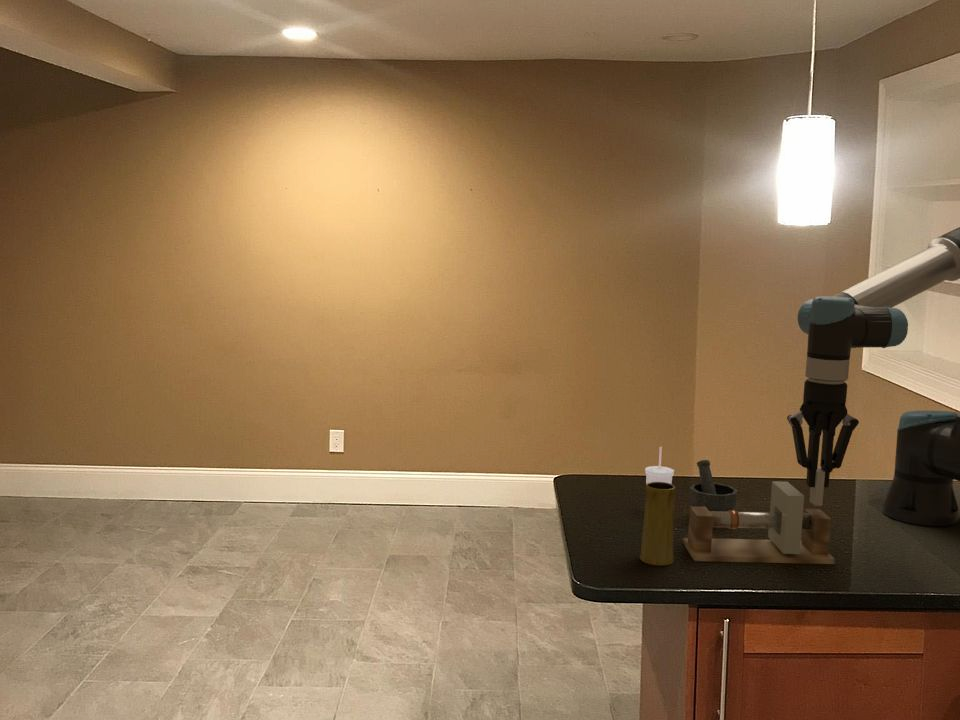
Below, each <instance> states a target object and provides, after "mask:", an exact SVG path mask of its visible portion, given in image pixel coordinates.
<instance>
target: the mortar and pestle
mask: <svg viewBox="0 0 960 720" xmlns="http://www.w3.org/2000/svg"><path fill="white" fill-rule="evenodd" d="M696 466H697V468H698V473H699V481H700V482H698V483H693V484H691V486H690V487H689V501H690V504H691V506H699V507H706V508H707V509H708V510H709V511H728V510H734V508H735V505H736V503H737V499H738V489H736V488H735V487H733V486H732V485H728V484H727V485H726V484H723V483H717V482H714V478H713V474H712V471H711V468H710V466H711V461H710V460H709V459H704V460H703V459H701V460H699V461H697V462H696Z"/></svg>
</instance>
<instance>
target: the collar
mask: <svg viewBox="0 0 960 720" xmlns="http://www.w3.org/2000/svg"><path fill="white" fill-rule="evenodd" d="M770 490H771V492H770V505H769V512H773V513H782V521H781V529H771V528H768V529H767V530H768V533H767V537H768V538H769V540H772V542H773V543H774V544H775V545H776V546H777V547H778V548H779V549H780V550H781V551H782V553H783V554H800V544H801V540H802V531H803V529H802V519H803V513H804V504H805V495H804V494H803V493H801V492H800V491H799V490H798V489H797V488H796V487H794V486H793V485H792V484H791V483H790V482H789V481H771V489H770Z"/></svg>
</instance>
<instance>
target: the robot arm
mask: <svg viewBox="0 0 960 720" xmlns="http://www.w3.org/2000/svg"><path fill="white" fill-rule="evenodd" d="M958 280H960V226H959V227H957V228H955V229H952V230H950V231H948V232H946V233H944V234H942V235H940V236H938V237H936V238H934V239H933V240H931V241H930V242H929V243H928V246H927V248H925V249H923V250H921V251H918V253H916V254H913V255H912V256H909V257H907V258H905V259H904V260H901V261H900V262H897V263H896V264H893V265H891V266H890V267H887V268H886V269H883V270H882V271H880V272H878V273H875V274H874V275H872V276H870V277H867V278H866V279H864V280H862V281H860V282H858V283H856V284H855V285H852V286H850V287H848V288H847V289H845V290H842V291H841V292H839V293H837V294H834V295H832V296H829V295H820V296H819V295H818V296H816V297H814V298H812V299H811V298H810V299H807V300H805V302H804V303H802V305H800V307H799V309H798V312H797V324H798V327H799V329H800V330H801V331H802V332H803V333H804V334H806V335H807V351H806V363H805V377H806V378H807V379H806V380H805V381H804V384H803V385H804V387H803V395H802V396H803V397H802V399H803V400H802V404H801V405H800V407H799V411H798V412H796V413H794V414H793V415H792V414H788V416H787V417H786V420H787V421H788V423H789V424H790V427H791V431H792V436H793V442H794V448H795V455H796V461H797V464H798V465H799V466H801V467H802V468H805V469H806V480H805V483H806V486H808V487H809V489H810V490H809V502H810V504H812V505H813V506H815V507H817V506H819V507H820V506H821V507H822V506H823V500H824V492H825V491H824V490H825V488H828V487H829V485H830V475H831V474H830V473H833V470H834V469H841V467H842V465H843V461H844V458H845V455H846V453H847V449H848V446H849V443H850V441H851V438H852V435H853V432H854V430H855V428H857V426H858V425H859V424H860V421H859V420H858V419H857V418H855V417H854V416H852V415H850V414H849V413H848V409H847V405H846V404H847V395H848V394H847V393H848V384H847V383H846V381H848V380H849V373H850V371H849V370H850V360H851V351H852V350H851V349H856V348H858V349H859V348H864V349H865V348H882V349H886V348H889V347H890V348H891V347H897V346H900V344H902V343H903V342H904V341H905V339H906V338H907V335H908V330H909V328H908V327H909V321H908V318H907V317H906V314H905V313H904V312H903V311H902V310H901V309H899V308H897V307H896V306H898V305H900V304H902V303H904V302H906V301H907V300H909V299H912V298H914V297H915V296H918V295H919V294H921V293H923V292H925V291H927V290H930V289H931V288H933V287H935V286H937V285H939V284H941V283H943V282H945V281H948V282H955V281H958ZM803 419H804V420H803ZM803 421H805V423H806V424H807V425H808V432H809V433H808V446H807V449H806V443H805V436H804V435H805V434H804V430H803V427H802V425H803V423H804V422H803ZM841 423H842V426H841V428H840V430H839V434H838V437H837V440H836V443H835V445H834V442H835V441H834V440H835V438H834V437H835V436H836V430H837V427H838V426H839V425H840V424H841ZM896 434H897V435H896V447H895V457H894V458H895V461H894V474H893V479H892V481H891V483H890V484H889V488H888V490H887V491H886V493H885V496H884V498H883V501H882V506H881V507H882V508H881V511H882V513H883V514H884V515H885V516H887V517H888V518H889V517H890V518H892V519H894V520H896V521H900V522H903V523H908V524H913V525H919V526H927V527H929V526H930V527H947V526H953V525H955V524H957V523H958V522H959V517H960V510H959V505H958V501H957V497H956V493H955V489H954V481H957V482H960V412H955V411H949V410H909V411H906V412H904V413H902V414H901V416H900V417H899V421H898V428H897V432H896ZM821 436H822V437H821ZM821 438H822V439H821ZM821 440H822V441H821ZM820 442H821V451H820ZM820 452H821V453H820ZM819 453H820V463H819ZM819 464H820V465H819ZM818 465H819V466H820V468H819V467H818Z"/></svg>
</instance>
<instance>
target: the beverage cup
mask: <svg viewBox="0 0 960 720" xmlns="http://www.w3.org/2000/svg"><path fill="white" fill-rule="evenodd" d="M662 451H663V447H662V446H659V451H658V453H659V454H658V455H659V457H658V465H652V466H651V465H650V466H646V467H645V468H644V472H645V476H646V477H645V478H646V479H645V483H646V484H645V486H646V485H647V483H650V482H666V483H670V484H673V483H672V481H673V476H674V473H675V469H673V468H670V467H669V466H662V453H663V452H662Z"/></svg>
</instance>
